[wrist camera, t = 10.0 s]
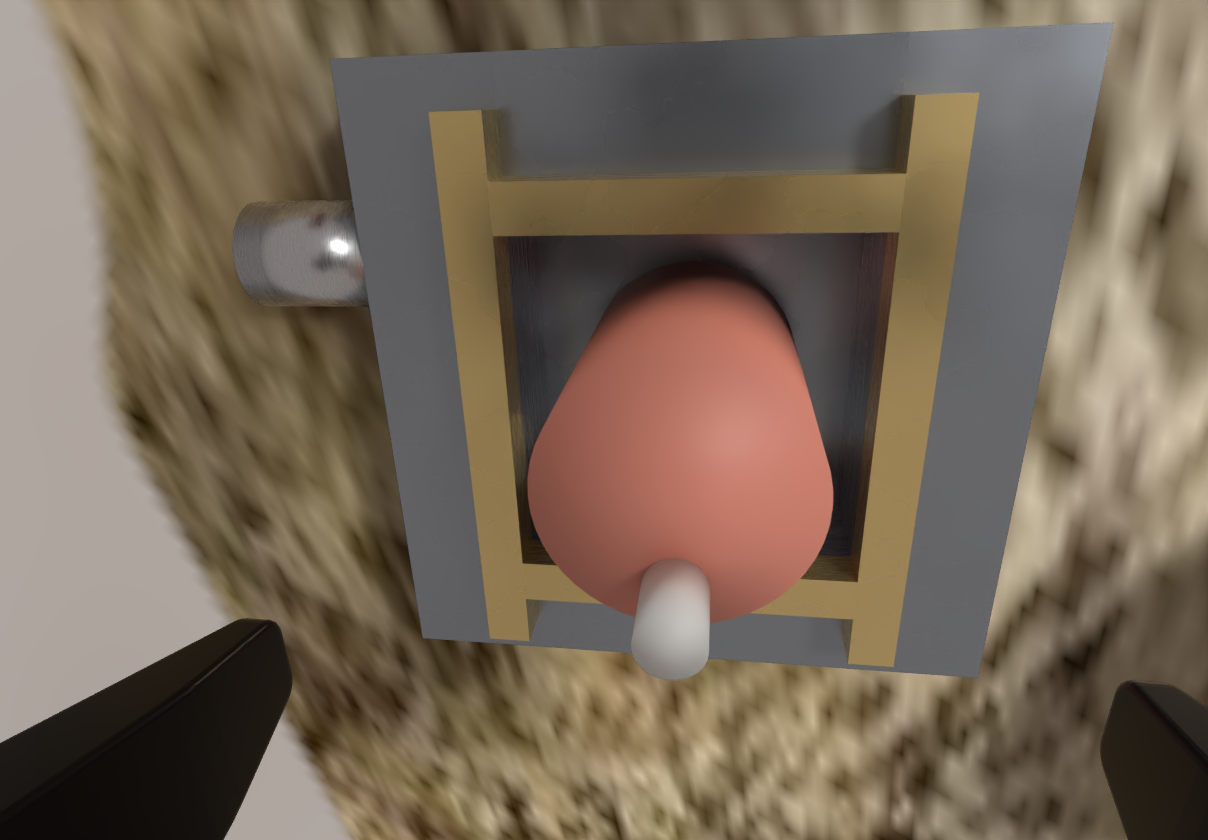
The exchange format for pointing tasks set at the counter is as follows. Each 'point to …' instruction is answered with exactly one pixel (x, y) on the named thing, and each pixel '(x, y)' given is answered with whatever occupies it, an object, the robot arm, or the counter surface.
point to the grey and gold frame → (727, 237)
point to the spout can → (683, 462)
